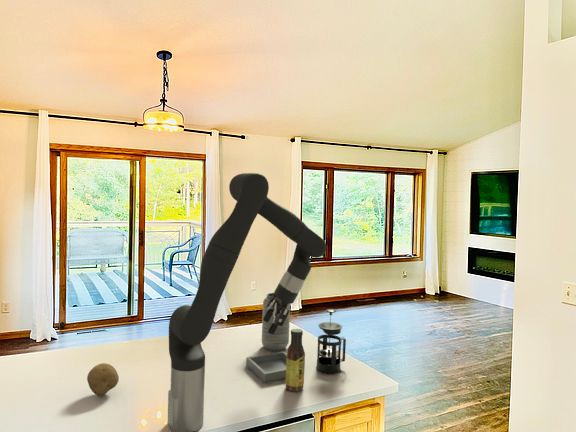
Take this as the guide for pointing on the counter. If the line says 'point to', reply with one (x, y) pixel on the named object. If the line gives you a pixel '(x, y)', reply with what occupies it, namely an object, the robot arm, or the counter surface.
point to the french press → (329, 356)
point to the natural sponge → (102, 379)
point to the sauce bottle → (295, 362)
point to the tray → (268, 366)
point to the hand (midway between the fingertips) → (267, 326)
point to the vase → (281, 334)
